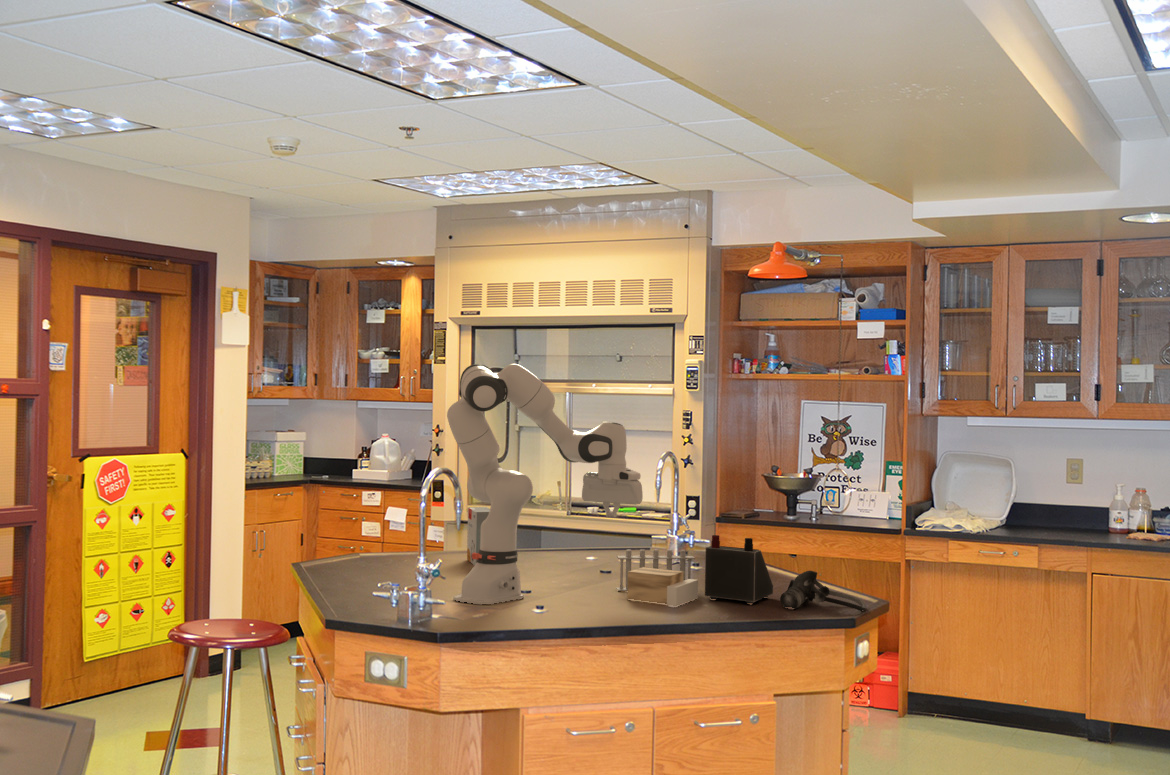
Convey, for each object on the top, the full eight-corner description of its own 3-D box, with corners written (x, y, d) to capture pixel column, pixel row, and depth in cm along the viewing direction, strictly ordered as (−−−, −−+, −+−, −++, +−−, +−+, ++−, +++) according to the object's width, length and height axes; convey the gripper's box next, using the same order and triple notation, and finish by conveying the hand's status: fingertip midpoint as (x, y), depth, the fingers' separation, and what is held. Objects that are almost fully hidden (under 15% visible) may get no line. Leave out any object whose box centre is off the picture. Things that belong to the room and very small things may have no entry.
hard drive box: (466, 560, 387) (467, 507, 388) (486, 559, 390) (487, 506, 390) (474, 566, 373) (475, 511, 373) (495, 565, 375) (496, 511, 375)
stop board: (676, 607, 303) (676, 587, 304) (666, 606, 305) (667, 586, 305) (697, 599, 317) (698, 579, 317) (688, 598, 319) (689, 578, 319)
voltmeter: (773, 598, 322) (774, 534, 322) (754, 606, 308) (755, 539, 308) (725, 592, 330) (726, 530, 331) (704, 600, 316) (705, 535, 316)
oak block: (669, 606, 306) (669, 576, 307) (627, 601, 313) (627, 571, 313) (683, 601, 315) (683, 571, 315) (642, 596, 322) (642, 567, 322)
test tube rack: (691, 589, 334) (692, 549, 335) (694, 592, 330) (695, 550, 330) (615, 589, 332) (616, 548, 332) (617, 592, 327) (618, 550, 327)
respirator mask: (783, 588, 323) (814, 554, 320) (836, 637, 317) (869, 602, 314) (772, 600, 304) (806, 563, 301) (829, 652, 298) (864, 614, 295)
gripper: (578, 472, 326) (577, 515, 326) (636, 475, 316) (635, 520, 316) (588, 471, 332) (587, 514, 332) (645, 474, 322) (644, 518, 322)
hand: (611, 517), depth 324 cm, fingers closed
